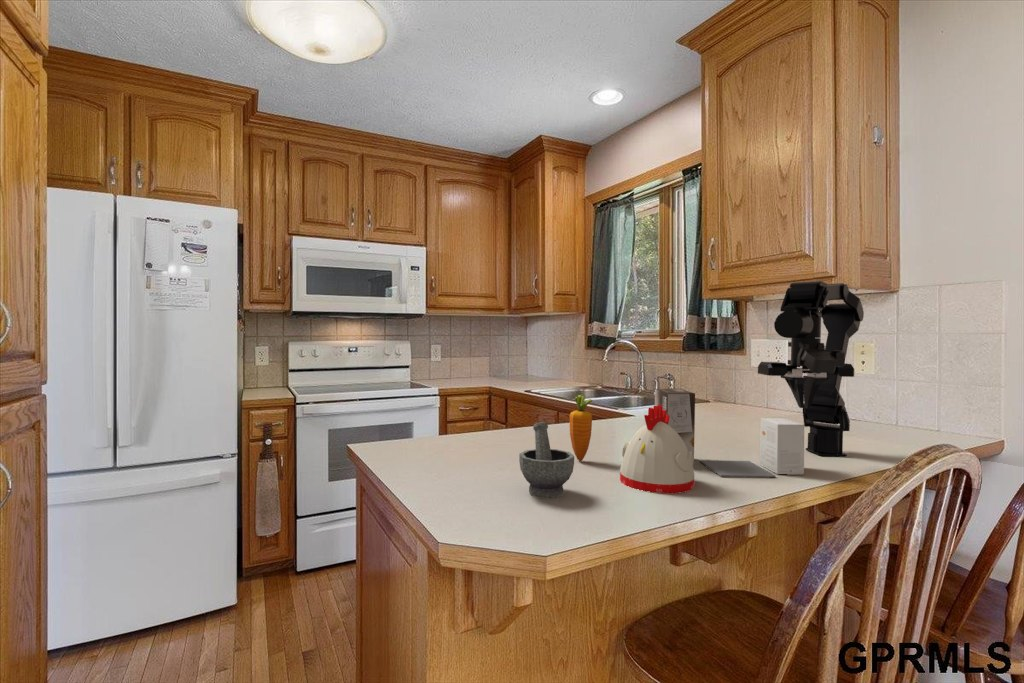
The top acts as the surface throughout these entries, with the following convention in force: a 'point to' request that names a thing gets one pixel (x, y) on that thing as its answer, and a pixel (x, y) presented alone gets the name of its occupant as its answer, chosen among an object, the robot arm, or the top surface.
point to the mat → (736, 468)
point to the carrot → (580, 428)
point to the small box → (782, 446)
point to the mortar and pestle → (545, 466)
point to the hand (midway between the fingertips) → (804, 407)
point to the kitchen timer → (657, 457)
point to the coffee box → (679, 413)
